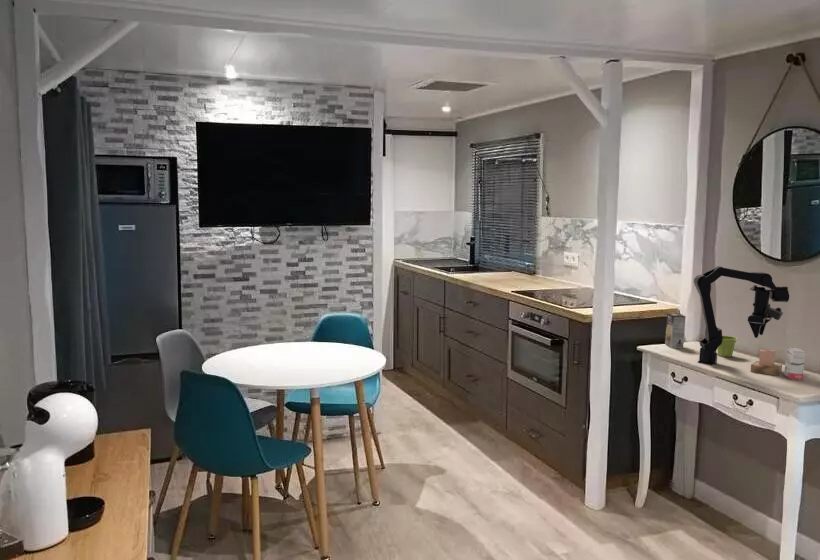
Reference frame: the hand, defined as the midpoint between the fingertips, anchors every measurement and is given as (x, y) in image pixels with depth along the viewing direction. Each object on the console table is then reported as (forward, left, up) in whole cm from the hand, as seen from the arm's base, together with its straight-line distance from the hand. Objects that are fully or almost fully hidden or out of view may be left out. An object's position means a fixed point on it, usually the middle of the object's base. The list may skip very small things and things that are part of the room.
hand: (758, 336), depth 311 cm
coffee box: (-41, +16, -13) cm, 46 cm away
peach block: (+6, -10, -10) cm, 15 cm away
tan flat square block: (+6, -10, -13) cm, 17 cm away
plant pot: (-16, +11, -13) cm, 23 cm away
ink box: (+17, -13, -13) cm, 25 cm away
